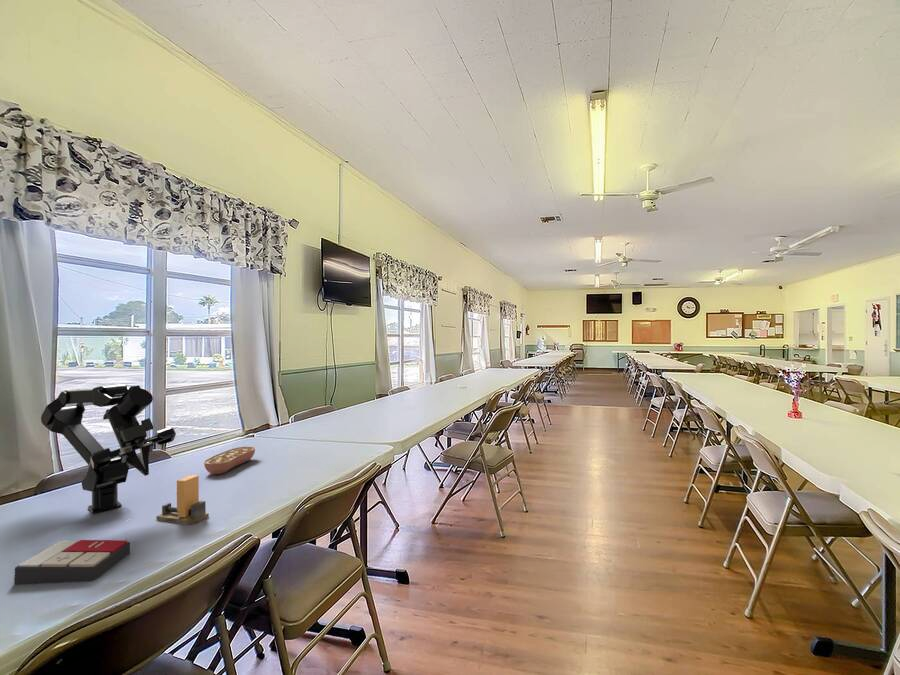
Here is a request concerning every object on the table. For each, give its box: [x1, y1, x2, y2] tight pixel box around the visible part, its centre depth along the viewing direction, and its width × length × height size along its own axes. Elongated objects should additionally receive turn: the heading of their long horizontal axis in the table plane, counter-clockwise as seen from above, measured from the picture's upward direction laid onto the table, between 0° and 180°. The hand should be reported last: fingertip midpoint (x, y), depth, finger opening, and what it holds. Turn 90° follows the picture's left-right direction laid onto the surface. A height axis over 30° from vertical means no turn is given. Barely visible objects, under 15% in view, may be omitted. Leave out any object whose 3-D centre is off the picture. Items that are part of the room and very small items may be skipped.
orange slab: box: [176, 474, 200, 517], centre depth 112 cm, size 2×4×10 cm, turn 164°
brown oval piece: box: [203, 446, 256, 475], centre depth 157 cm, size 23×10×5 cm, turn 174°
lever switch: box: [156, 500, 210, 526], centre depth 113 cm, size 12×5×5 cm, turn 74°
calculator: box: [13, 539, 131, 586], centre depth 89 cm, size 11×4×15 cm
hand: (147, 474), depth 114 cm, fingers closed
